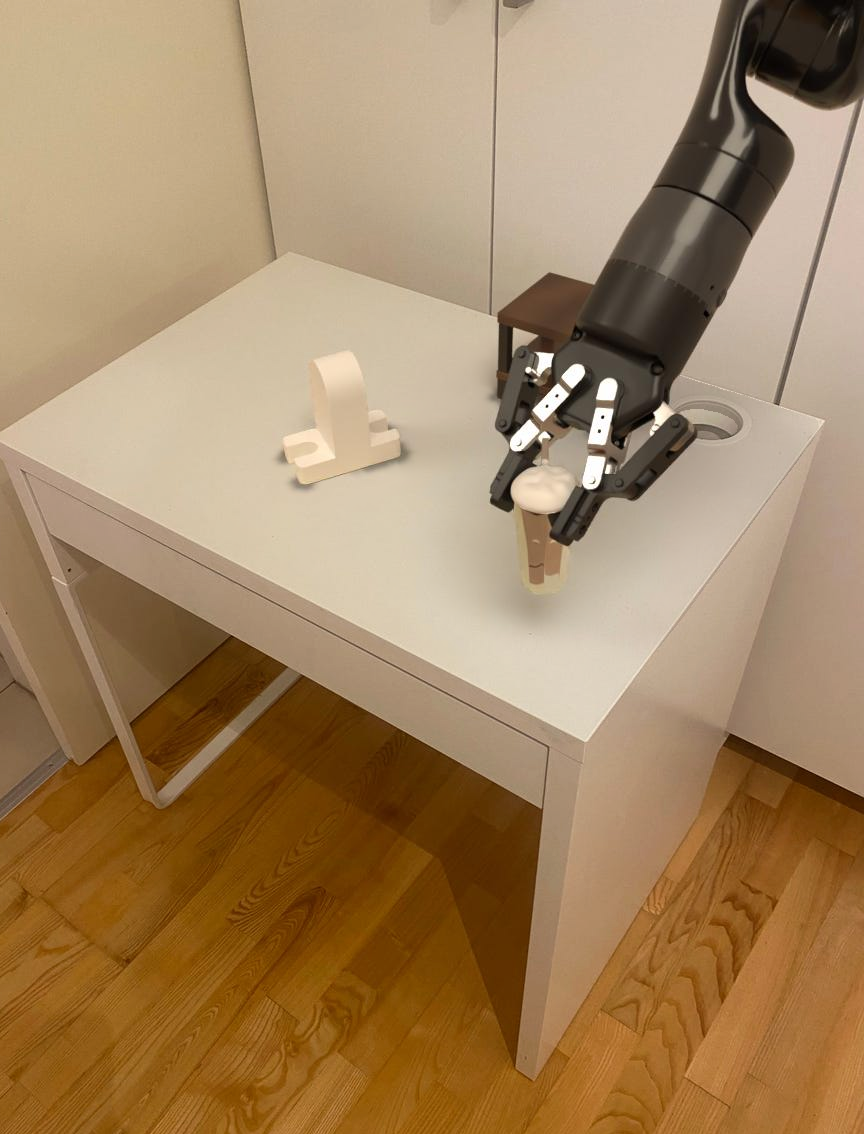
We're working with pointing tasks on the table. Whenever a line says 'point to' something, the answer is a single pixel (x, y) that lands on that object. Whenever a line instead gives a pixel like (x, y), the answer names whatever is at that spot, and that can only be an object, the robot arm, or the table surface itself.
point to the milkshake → (541, 523)
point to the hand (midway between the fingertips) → (529, 523)
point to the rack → (540, 320)
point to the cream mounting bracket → (340, 424)
